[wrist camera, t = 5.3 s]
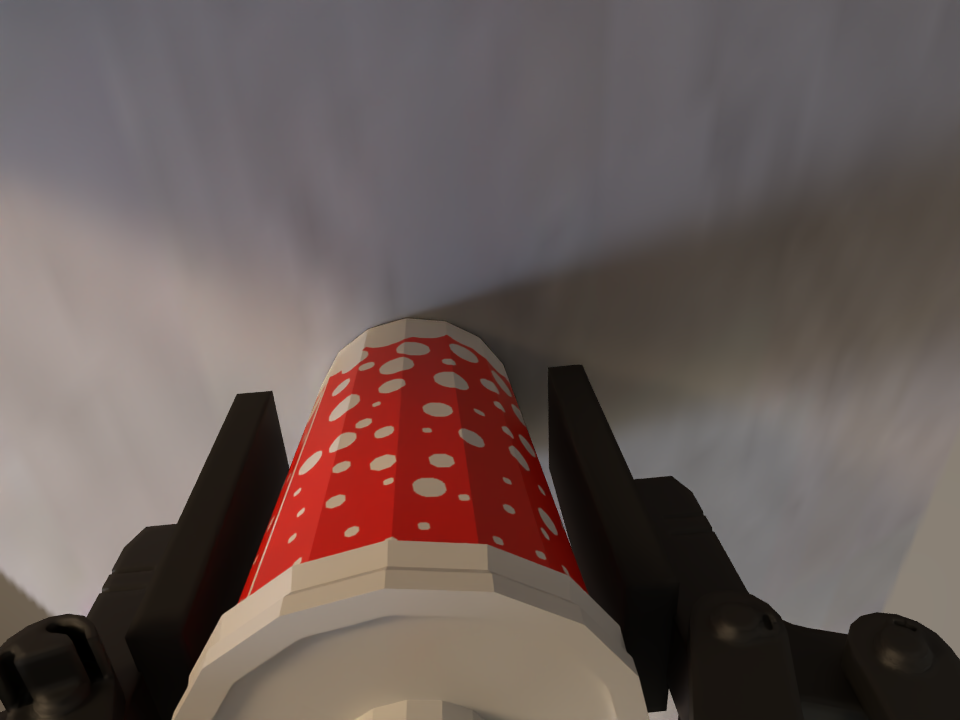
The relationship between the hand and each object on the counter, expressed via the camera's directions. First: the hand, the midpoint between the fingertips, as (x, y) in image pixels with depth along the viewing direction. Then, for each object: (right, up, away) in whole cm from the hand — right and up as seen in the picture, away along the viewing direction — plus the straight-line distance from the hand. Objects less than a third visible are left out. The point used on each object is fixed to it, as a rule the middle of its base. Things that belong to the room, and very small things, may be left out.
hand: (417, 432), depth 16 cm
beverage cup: (0, +1, +1) cm, 1 cm away
